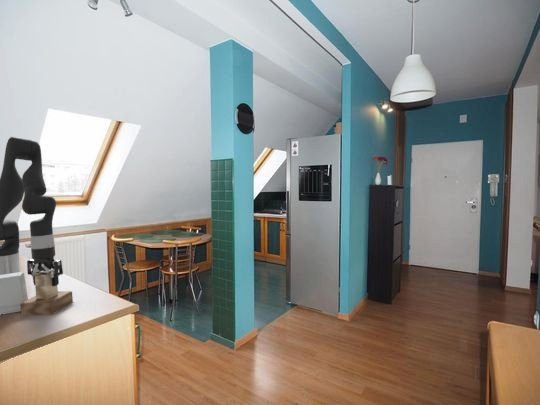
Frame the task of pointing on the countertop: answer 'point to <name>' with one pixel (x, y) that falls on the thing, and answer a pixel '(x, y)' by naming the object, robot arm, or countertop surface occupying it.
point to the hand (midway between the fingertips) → (46, 285)
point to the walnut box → (46, 304)
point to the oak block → (44, 286)
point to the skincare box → (12, 292)
